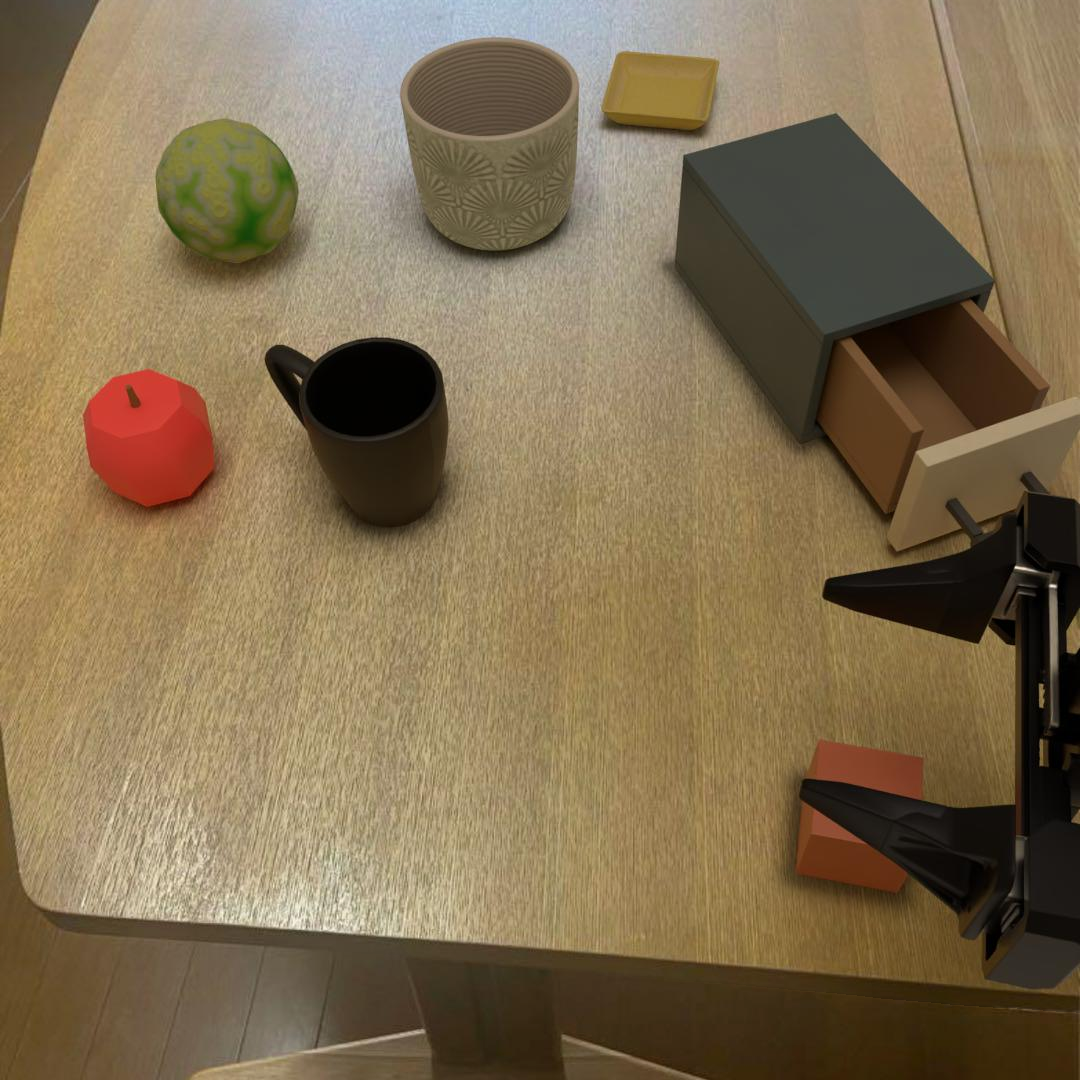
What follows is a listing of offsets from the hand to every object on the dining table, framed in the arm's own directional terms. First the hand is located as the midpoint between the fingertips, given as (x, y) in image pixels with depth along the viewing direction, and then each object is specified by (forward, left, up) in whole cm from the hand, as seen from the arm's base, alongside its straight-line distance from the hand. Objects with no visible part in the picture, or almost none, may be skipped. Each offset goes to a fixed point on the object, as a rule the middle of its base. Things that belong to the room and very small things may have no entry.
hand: (812, 682), depth 47 cm
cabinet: (+1, -38, -17) cm, 42 cm away
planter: (+25, -46, -17) cm, 55 cm away
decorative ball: (+43, -39, -17) cm, 60 cm away
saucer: (+15, -62, -17) cm, 66 cm away
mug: (+27, -19, -17) cm, 37 cm away
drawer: (-6, -28, -16) cm, 32 cm away
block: (-4, -1, -17) cm, 17 cm away
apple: (+40, -17, -17) cm, 46 cm away
